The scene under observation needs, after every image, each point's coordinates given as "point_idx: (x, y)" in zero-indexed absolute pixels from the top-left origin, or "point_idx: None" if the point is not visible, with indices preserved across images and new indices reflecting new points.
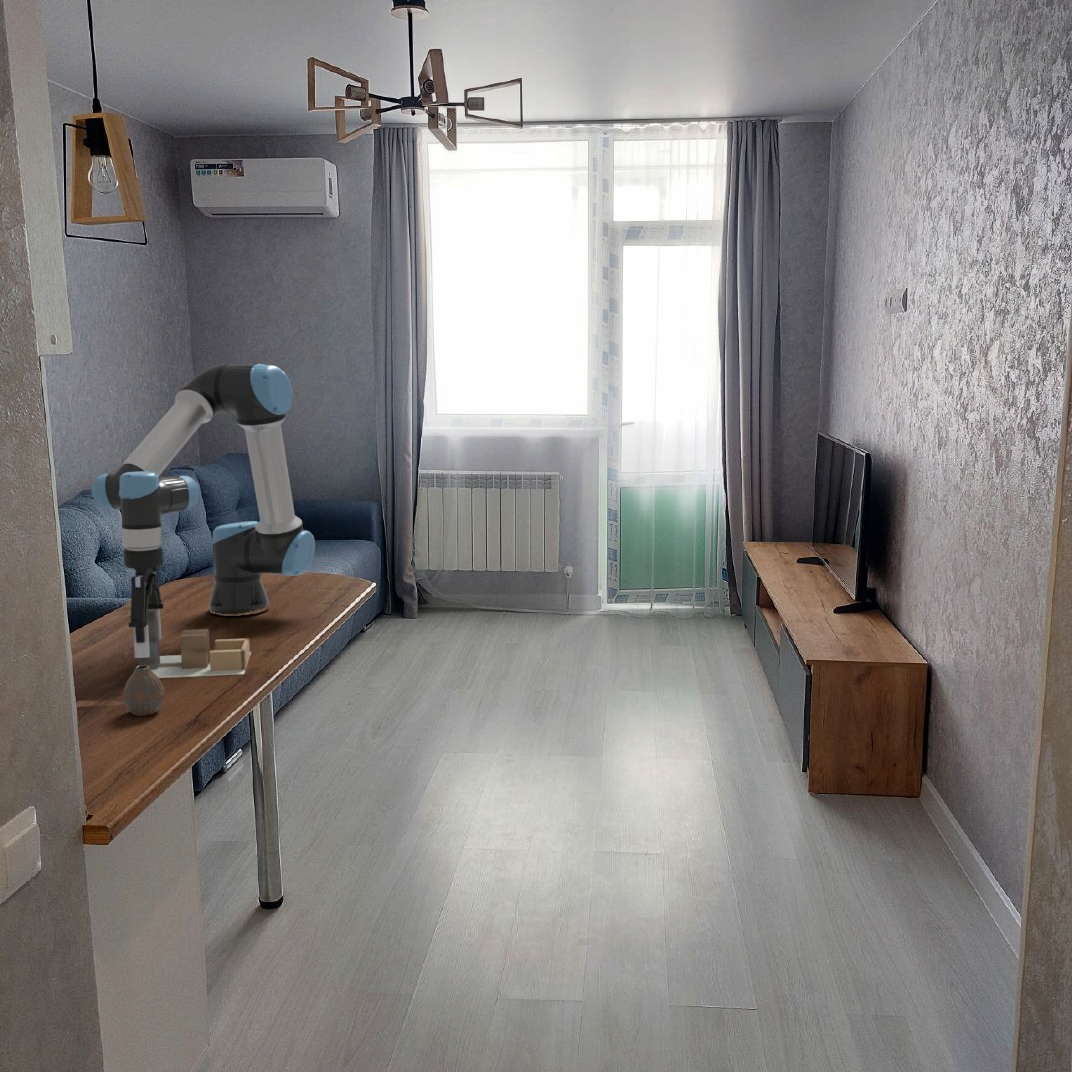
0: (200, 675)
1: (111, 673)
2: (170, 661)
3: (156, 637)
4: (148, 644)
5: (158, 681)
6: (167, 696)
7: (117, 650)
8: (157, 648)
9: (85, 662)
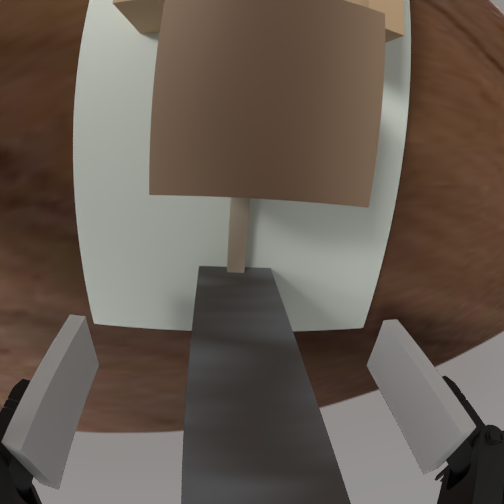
0: (404, 97)
1: None
2: (163, 229)
3: (271, 359)
4: (422, 357)
5: None
6: (486, 205)
7: (23, 378)
8: (250, 314)
9: (122, 429)
